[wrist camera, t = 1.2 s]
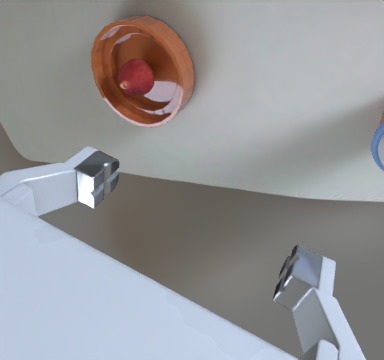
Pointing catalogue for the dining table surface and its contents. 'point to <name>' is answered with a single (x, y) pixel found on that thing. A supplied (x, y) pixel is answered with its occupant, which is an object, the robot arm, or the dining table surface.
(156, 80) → the terracotta bowl
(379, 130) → the cup with straw
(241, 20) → the dining table surface
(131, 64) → the onion
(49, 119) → the dining table surface
